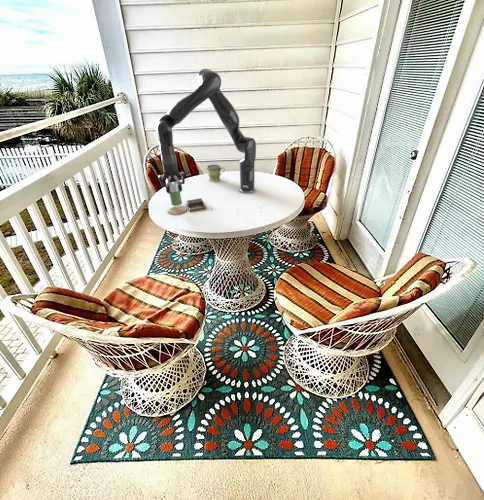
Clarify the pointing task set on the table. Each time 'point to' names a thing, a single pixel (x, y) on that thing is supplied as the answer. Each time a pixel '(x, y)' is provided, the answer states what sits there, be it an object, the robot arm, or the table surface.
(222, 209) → the table surface
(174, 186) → the green can
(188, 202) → the walnut rest
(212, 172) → the ceramic cup
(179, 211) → the cork coaster
